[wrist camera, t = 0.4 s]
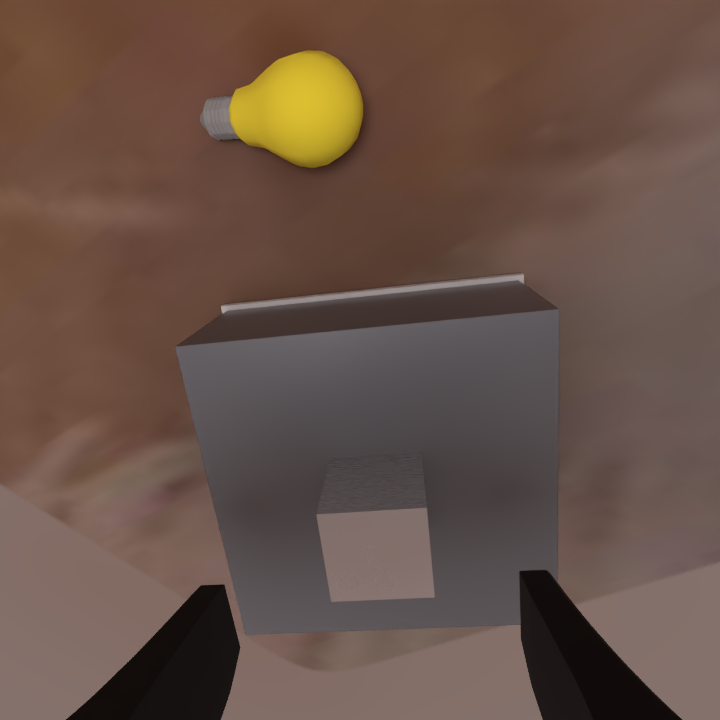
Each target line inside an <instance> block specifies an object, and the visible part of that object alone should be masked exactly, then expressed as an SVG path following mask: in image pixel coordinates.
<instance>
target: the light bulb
mask: <svg viewBox="0 0 720 720" xmlns="http://www.w3.org/2000/svg"><path fill="white" fill-rule="evenodd" d="M362 119H363V101H362V96H361V92H360V90H359V87H358V85H357V82H356V81H355V79H354V77H353V76H352V74H351V73H350V71H349V70H348V69H347V68H346V67H345V66H344V65H343V64H342V63H341V62H340V61H339V59H338V58H336V57H334V56H332V55H330V54H328V53H325V52H323V51H312V50H306V51H303V52H299V53H296V54H292V55H290V56H287V57H284V58H281V59H278V60H277V61H276V62H274V63H273V64H272V65H271V66H270V67H268V68H267V69H266V70H265V71H264V72H263V73H262V74H261V75H260V76H259V77H258V78H257V79H256V80H255V81H254V82H252V83H251V84H250V85H247V86H244V87H242V88H239V89H236V91H235V93H234V95H233V96H230V97H228V96H225V97H224V96H223V97H217V98H215V97H214V98H211V99H208V100H206V103H205V106H204V109H203V112H202V113H201V116H200V120H201V123H202V126H203V127H205V129H206V130H207V131H208V133H209V134H210V136H212V137H213V138H215V139H216V140H217V141H219V140H226V139H227V140H229V139H231V140H233V139H241V140H243V141H244V142H245V143H247V144H248V145H249V146H254V147H260V148H265V149H267V150H269V151H271V152H272V153H274V154H276V155H278V156H280V157H281V158H283V159H285V160H287V161H289V162H291V163H293V164H295V165H297V166H301V167H308V168H316V167H320V166H325V165H328V164H330V163H331V162H333V161H334V160H336V159H337V158H339V157H340V156H342V155H343V154H344V153H345V152H347V151H348V150H349V149H350V148H351V147H352V145H353V144H354V142H355V141H356V140H357V138H358V135H359V131H360V127H361V123H362Z"/></svg>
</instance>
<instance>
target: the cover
mask: <svg viewBox="0 0 720 720" xmlns="http://www.w3.org/2000/svg"><path fill="white" fill-rule="evenodd" d="M175 348H176V352H177V356H178V360H179V364H180V369H181V373H182V377H183V381H184V385H185V389H186V393H187V397H188V401H189V405H190V410H191V414H192V418H193V422H194V426H195V430H196V434H197V438H198V442H199V446H200V451H201V455H202V459H203V463H204V467H205V471H206V475H207V479H208V483H209V487H210V491H211V496H212V500H213V504H214V508H215V512H216V516H217V520H218V524H219V528H220V532H221V537H222V541H223V545H224V549H225V553H226V557H227V561H228V565H229V569H230V573H231V578H232V582H233V586H234V590H235V594H236V598H237V602H238V606H239V610H240V614H241V618H242V623H243V627H244V631H245V635H252V634H280V633H307V632H335V631H363V630H390V629H418V628H445V627H473V626H500V625H521V619H520V581H519V571H527V570H547V571H548V572H549V573H551V575H552V576H553V577H554V579H555V580H556V582H558V412H559V309H558V308H557V307H555V306H554V305H553V304H551V303H550V302H548V301H547V300H546V299H544V298H543V297H541V296H540V295H538V294H537V293H536V292H534V291H533V290H531V289H530V288H529V287H527V286H526V285H524V284H523V283H522V282H520V281H519V280H516V281H507V282H497V283H488V284H478V285H469V286H459V287H449V288H440V289H430V290H421V291H411V292H401V293H392V294H382V295H373V296H363V297H354V298H344V299H334V300H325V301H315V302H306V303H296V304H287V305H277V306H267V307H258V308H248V309H239V310H229V311H226V312H224V313H223V314H221V315H220V316H218V317H217V318H216V319H214V320H213V321H211V322H210V323H208V324H207V325H206V326H204V327H203V328H201V329H200V330H198V331H197V332H196V333H194V334H193V335H191V336H190V337H188V338H187V339H186V340H184V341H183V342H181V343H180V344H178V345H177V346H176V347H175Z"/></svg>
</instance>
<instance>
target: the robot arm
mask: <svg viewBox="0 0 720 720" xmlns="http://www.w3.org/2000/svg"><path fill="white" fill-rule="evenodd" d="M519 581H520V619H521V641H522V645H523V650H524V654H525V658H526V663H527V667H528V672H529V676H530V680H531V684H532V688H533V691H534V694H535V697H536V700H537V703H538V706H539V709H540V712H541V715H542V718H543V720H682V719H681V718H680V717H679V716H678V715H676V714H675V713H674V712H673V711H672V710H671V709H670V708H669V707H668V706H667V705H666V704H665V703H664V702H663V701H662V700H661V699H660V698H659V697H657V695H655V694H654V692H652V691H651V690H650V689H649V688H648V687H647V686H646V685H645V684H644V683H643V682H642V681H641V679H640V678H639V677H638V676H637V675H636V674H635V673H634V672H633V671H632V670H631V669H630V668H629V667H628V666H627V665H626V664H625V663H624V662H623V661H622V660H621V658H620V657H619V656H618V655H617V654H616V653H615V652H614V651H613V650H612V649H611V647H610V646H609V645H608V644H607V643H606V642H605V641H604V639H603V638H602V637H601V636H600V635H599V634H598V633H597V631H595V629H594V628H593V627H592V626H591V625H590V623H589V622H588V621H587V620H586V619H585V617H584V616H583V615H582V614H581V612H580V611H579V610H578V609H577V607H576V606H575V605H574V604H573V603H572V601H571V600H570V599H569V597H568V596H567V595H566V594H565V592H564V591H563V590H562V588H561V587H560V586H559V584H558V583H557V582H556V580H555V579H554V577H553V576H552V575H551V573H549V572H548V571H547V570H527V571H519ZM239 651H240V645H239V641H238V637H237V633H236V629H235V625H234V621H233V617H232V613H231V609H230V605H229V601H228V598H227V594H226V590H225V586H224V585H202V586H200V587H199V588H198V589H197V590H196V591H195V592H194V593H193V594H192V595H191V596H190V597H189V599H188V600H187V601H186V602H185V603H184V604H183V605H182V606H181V607H180V608H179V609H178V611H177V612H176V613H175V614H174V615H173V616H172V617H171V618H170V619H169V620H168V621H167V622H166V623H165V624H164V625H163V627H162V628H161V629H160V630H159V631H158V632H157V633H156V634H155V635H154V636H153V637H152V638H151V639H150V640H149V641H148V642H147V643H146V644H145V646H143V648H142V649H141V650H140V651H139V652H138V653H137V654H136V655H135V656H134V657H133V658H132V659H131V660H130V661H129V662H128V663H127V664H126V665H125V666H124V667H123V668H122V669H120V670H119V671H118V672H117V673H116V674H115V675H114V676H113V677H112V678H111V679H110V680H109V681H108V682H107V683H106V684H105V685H104V686H103V687H102V688H101V689H100V690H99V691H98V692H97V693H96V694H95V695H94V696H92V698H90V699H89V700H88V701H87V702H86V703H85V704H84V705H82V706H81V707H80V708H79V709H78V710H77V711H76V712H75V713H73V714H72V715H71V716H70V717H69V718H68V719H66V720H221V717H222V714H223V711H224V709H225V706H226V703H227V700H228V697H229V694H230V690H231V686H232V681H233V678H234V674H235V669H236V665H237V660H238V655H239Z"/></svg>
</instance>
